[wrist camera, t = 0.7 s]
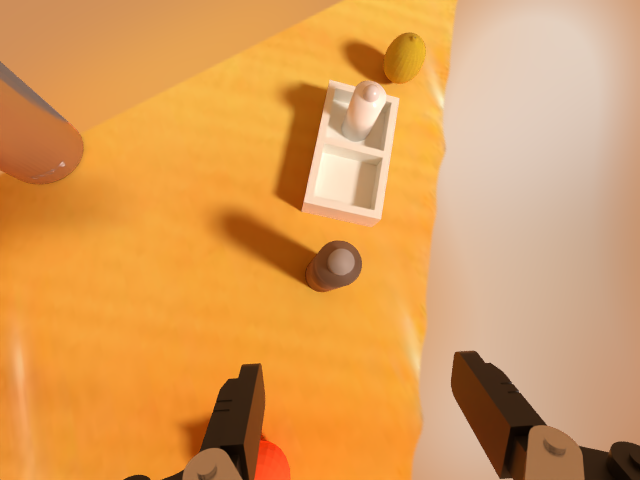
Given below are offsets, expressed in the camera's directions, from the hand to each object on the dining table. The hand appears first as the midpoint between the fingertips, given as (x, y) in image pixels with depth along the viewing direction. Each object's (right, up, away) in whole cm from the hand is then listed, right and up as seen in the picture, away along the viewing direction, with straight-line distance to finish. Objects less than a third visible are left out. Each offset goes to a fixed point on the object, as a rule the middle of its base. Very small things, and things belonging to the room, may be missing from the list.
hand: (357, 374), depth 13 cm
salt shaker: (+3, +21, +32) cm, 39 cm away
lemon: (+10, +31, +37) cm, 49 cm away
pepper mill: (-1, +1, +29) cm, 29 cm away
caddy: (+2, +17, +33) cm, 37 cm away
